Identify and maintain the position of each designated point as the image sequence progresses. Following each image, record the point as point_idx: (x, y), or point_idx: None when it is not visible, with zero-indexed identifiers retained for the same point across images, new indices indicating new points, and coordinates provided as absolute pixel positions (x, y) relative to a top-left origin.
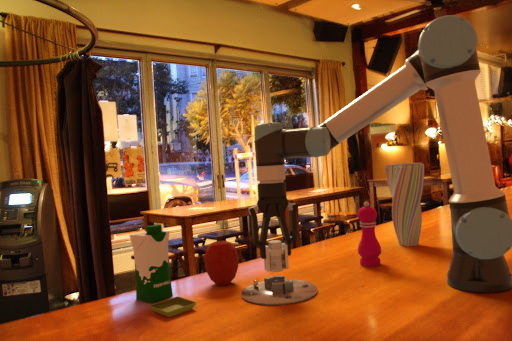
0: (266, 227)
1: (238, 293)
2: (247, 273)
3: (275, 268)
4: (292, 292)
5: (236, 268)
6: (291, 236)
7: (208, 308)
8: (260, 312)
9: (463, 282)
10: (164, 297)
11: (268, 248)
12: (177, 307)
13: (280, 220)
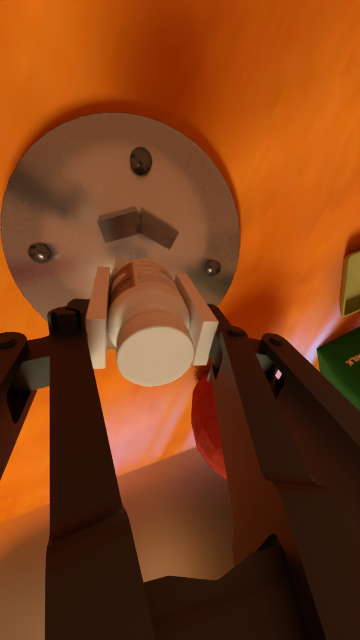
0: (266, 418)
1: (221, 307)
2: (143, 420)
3: (160, 266)
4: (107, 207)
5: (207, 389)
6: (26, 378)
7: (322, 242)
8: (260, 109)
9: None
10: (337, 341)
11: (204, 316)
12: (354, 281)
13: (122, 508)
